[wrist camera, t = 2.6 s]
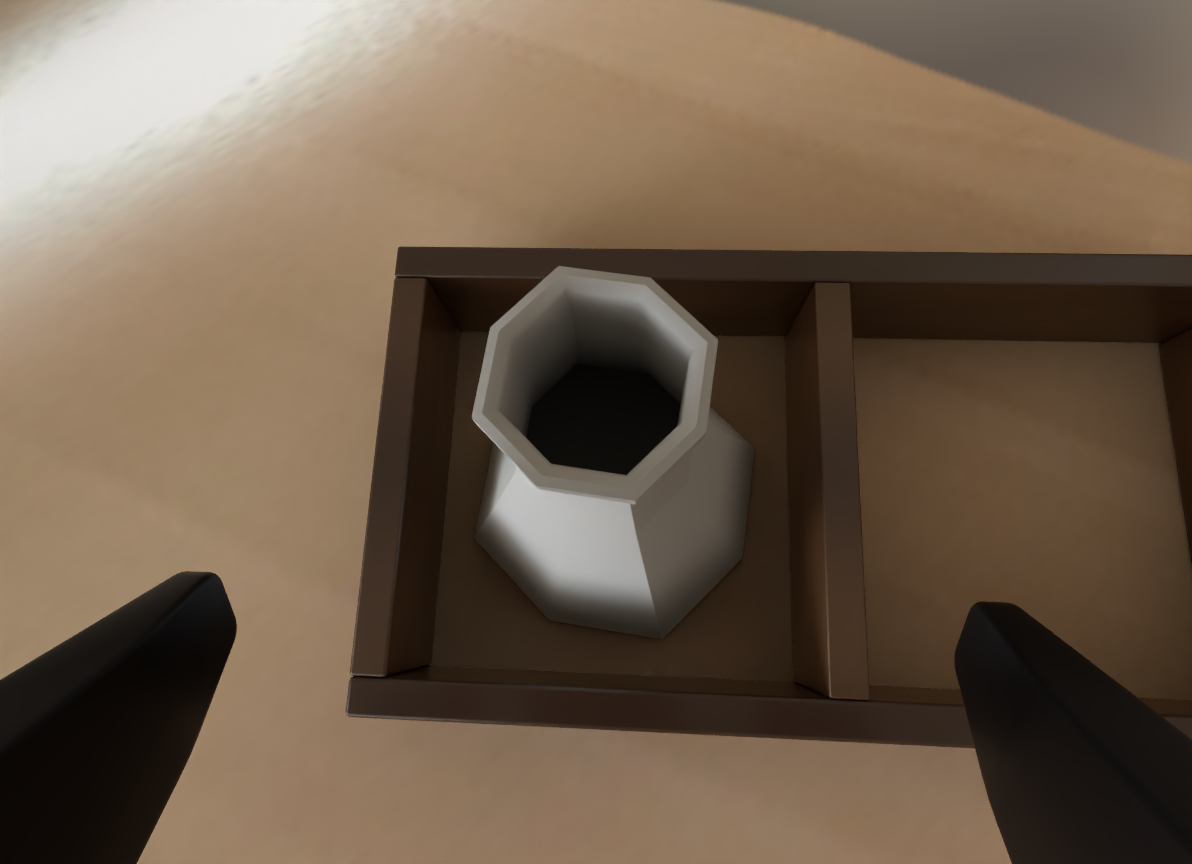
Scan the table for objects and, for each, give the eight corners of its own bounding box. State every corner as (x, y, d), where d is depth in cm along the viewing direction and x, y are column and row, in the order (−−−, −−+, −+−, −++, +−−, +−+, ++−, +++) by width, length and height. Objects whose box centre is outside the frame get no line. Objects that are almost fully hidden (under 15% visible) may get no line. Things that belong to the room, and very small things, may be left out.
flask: (799, 436, 19) (965, 261, 10) (678, 690, 18) (729, 787, 8) (560, 322, 20) (491, 62, 11) (429, 553, 19) (216, 496, 9)
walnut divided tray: (1252, 738, 17) (1405, 770, 14) (397, 697, 18) (343, 717, 15) (1183, 316, 20) (1298, 254, 16) (436, 304, 21) (397, 245, 17)
